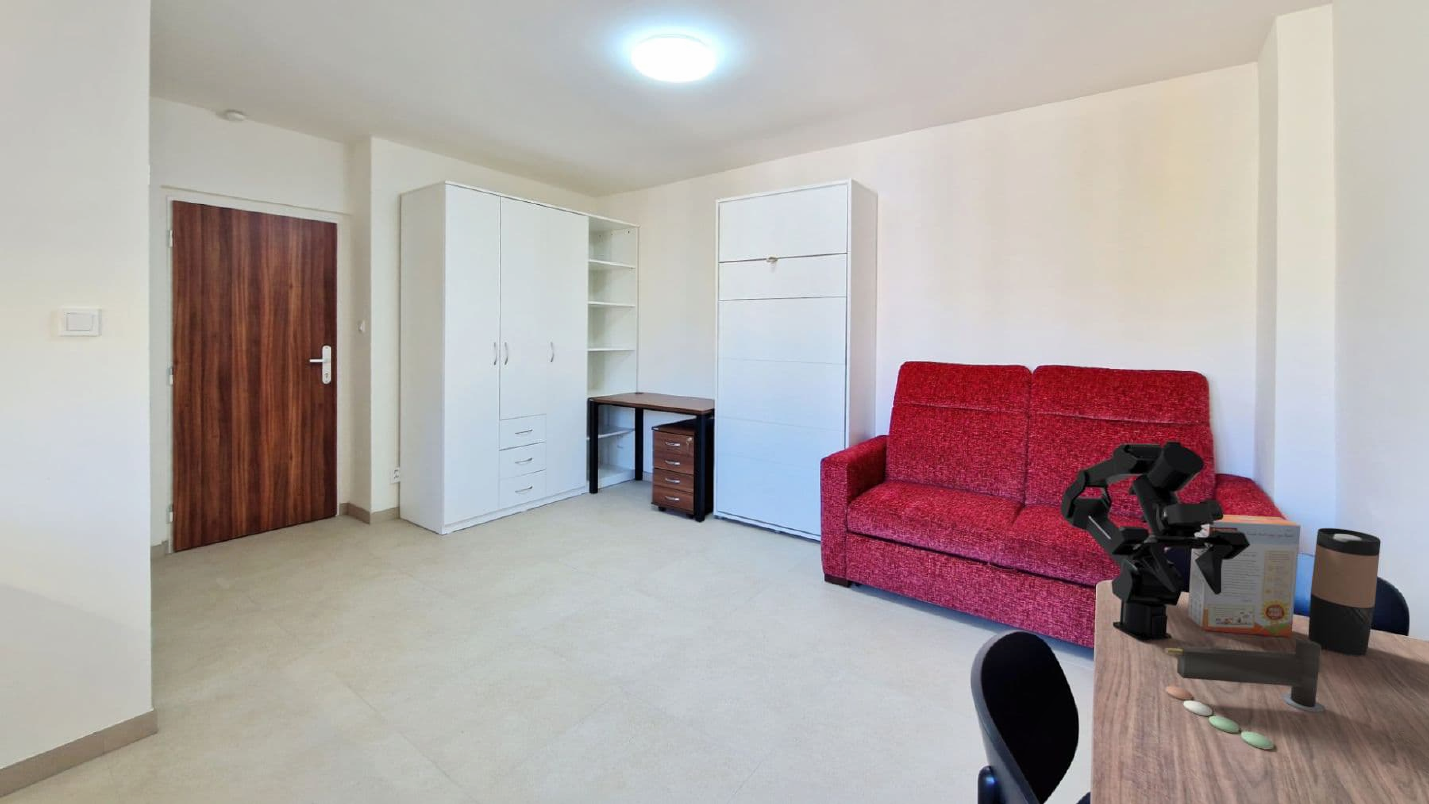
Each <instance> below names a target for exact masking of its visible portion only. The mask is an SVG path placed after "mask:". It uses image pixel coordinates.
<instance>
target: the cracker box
mask: <svg viewBox="0 0 1429 804" xmlns="http://www.w3.org/2000/svg"><path fill="white" fill-rule="evenodd" d="M1223 515H1224V516H1223V519H1222V520H1217V521H1213V522H1214V524H1212V525H1209V524H1206V525H1201V527H1202V530H1201V531H1200V532H1199V533H1195V537H1207V536H1208V535H1210V534H1211V533H1212V532H1213V531H1214V530H1238V531H1240V532H1242V533H1244V534H1245V535H1246V537H1247V539H1248V541H1249V543H1250V546H1249V547H1247V548H1246V549H1245V550H1243V551H1242V552H1241V553H1239V554H1238V555H1237V556H1235V557H1234V558H1233V559H1229V560H1222V566H1221V593H1220V594H1218V595H1216V594H1215V593H1214V592H1213V591H1212V589H1211V588H1210V587H1209V585H1208V583H1207V581H1206V580H1205V578H1204V576H1203V574H1202V572H1201V571H1200V569H1199V567H1198V565H1197V564H1196V562H1195V560H1196V559H1197V558H1198V557H1199V554H1198V552H1197V550H1196V549H1191V557H1190V571H1189V572H1190V573H1189V590H1188V603H1187V605H1188V606H1187V608H1188V609H1187V618H1188V617H1189V618H1188V619H1190V620H1191V621H1192V622H1193V623H1195V624H1196V625H1197V626H1198V627H1199V628H1201V629H1202V630H1204V631H1211V632H1212V631H1214V632H1223V633H1225V632H1226V633H1235V634H1237V633H1238V634H1247V635H1248V634H1249V635H1258V636H1259V635H1260V636H1271V637H1272V636H1273V637H1283V638H1292V634H1293V624H1294V623H1293V622H1294V609H1295V599H1296V598H1295V597H1296V586H1297V585H1296V584H1297V575H1298V574H1297V573H1298V572H1297V571H1298V562H1299V561H1298V558H1299V548H1300V547H1299V546H1300V535H1301V533H1300V532H1301V525H1300V524H1297V523H1296V522H1292V521H1290V520H1287V519H1285V518H1282V517H1279V516H1264V515H1263V516H1262V515H1261V516H1260V515H1259V516H1258V515H1243V514H1241V515H1240V514H1239V515H1238V514H1237V515H1236V514H1223Z"/></svg>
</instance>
